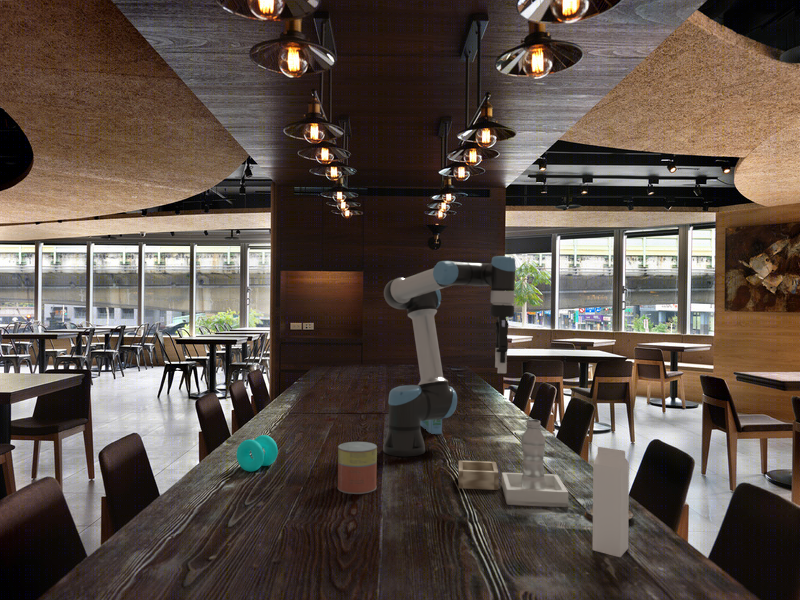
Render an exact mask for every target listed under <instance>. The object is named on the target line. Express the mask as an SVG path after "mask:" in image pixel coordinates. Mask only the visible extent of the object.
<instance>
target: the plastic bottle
mask: <svg viewBox="0 0 800 600" xmlns="http://www.w3.org/2000/svg"><path fill="white" fill-rule="evenodd" d="M526 420H527V421H526V426H525V427H526V428H527V429H526V430H524V432H523V434H522V436H521V448H522V455H523V456H522V458H523V466H522V467H523V468H522V473H523V474H522V479H521V485H522V488H523V489H538V490H545V485H546V482H545V477H544V474H545V470H544V456H545V455H544V454H545V448H546V438H545V436H544V434H543V432H542V431H541V430H540V429H542V426H541V424H542V423H541V420H538V419H526Z"/></svg>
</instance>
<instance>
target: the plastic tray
mask: <svg viewBox="0 0 800 600" xmlns="http://www.w3.org/2000/svg"><path fill="white" fill-rule="evenodd" d="M522 474H523V472H501V488H502V492H503V495H504V499H505V502H506V505H508V506H509V505H510V506H527V507H530V506H533V507H550V508H552V507H553V508H569V491H568V490H567V488H566V486H565V485H564V483H563V481H562V480H561V478H560V477H559V475H558V474H551V473H550V474H549V473H548V474H547V473H544V477H545V482H546V485H545V490H538V489H523V488H522V485H521V479H522Z"/></svg>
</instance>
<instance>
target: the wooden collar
mask: <svg viewBox="0 0 800 600" xmlns="http://www.w3.org/2000/svg"><path fill="white" fill-rule="evenodd" d="M457 471H458V476H457V477H458V478H457V479H458V481H457V482H458V489H469V490H494V491H498V490H499V470H498V465H497V462H496V461H485V460H484V461H483V460H481V461H479V460H458V470H457Z"/></svg>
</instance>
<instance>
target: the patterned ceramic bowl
mask: <svg viewBox="0 0 800 600" xmlns="http://www.w3.org/2000/svg"><path fill="white" fill-rule="evenodd" d="M584 510H585V513H584V517H586V519H587V520H590V522H593V503H592V504H589V505H586V506H585V509H584ZM633 517H635V514H634V512H632V511H631V510H630V509H629V514H628V521H629V520H631V519H632V518H633Z"/></svg>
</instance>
